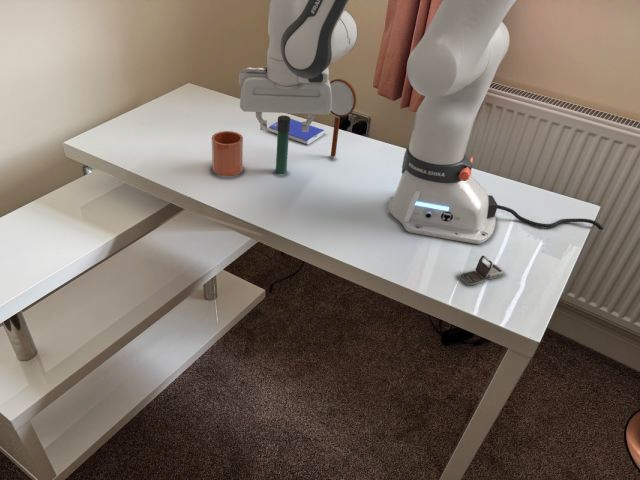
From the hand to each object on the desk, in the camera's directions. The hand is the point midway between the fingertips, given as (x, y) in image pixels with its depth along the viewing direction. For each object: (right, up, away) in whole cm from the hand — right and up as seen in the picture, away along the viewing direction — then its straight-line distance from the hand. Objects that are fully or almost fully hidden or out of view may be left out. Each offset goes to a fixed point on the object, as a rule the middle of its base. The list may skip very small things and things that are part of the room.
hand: (284, 130), depth 131 cm
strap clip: (+36, -34, -21) cm, 54 cm away
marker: (0, -8, +7) cm, 11 cm away
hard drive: (+4, +6, +24) cm, 26 cm away
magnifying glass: (+13, -4, +14) cm, 19 cm away
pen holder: (-13, -8, +8) cm, 17 cm away
